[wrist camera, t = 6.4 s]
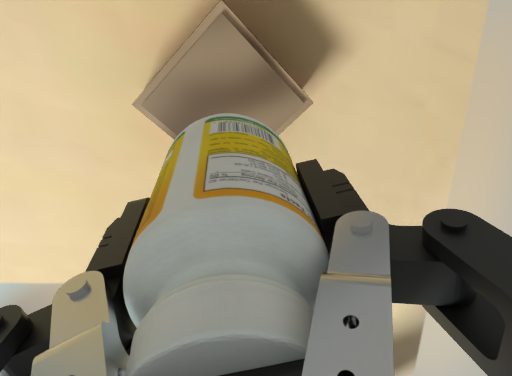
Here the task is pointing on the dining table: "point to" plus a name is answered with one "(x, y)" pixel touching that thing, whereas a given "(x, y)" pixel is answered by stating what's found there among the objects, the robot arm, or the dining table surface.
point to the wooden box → (222, 80)
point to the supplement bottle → (223, 256)
